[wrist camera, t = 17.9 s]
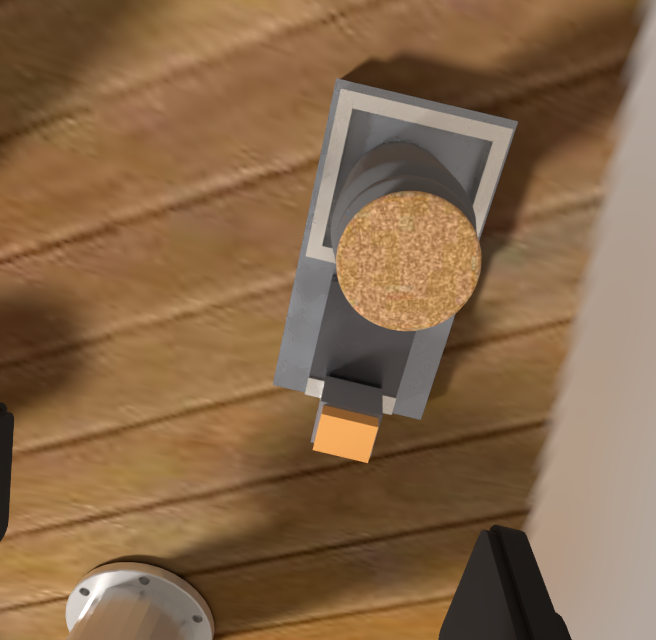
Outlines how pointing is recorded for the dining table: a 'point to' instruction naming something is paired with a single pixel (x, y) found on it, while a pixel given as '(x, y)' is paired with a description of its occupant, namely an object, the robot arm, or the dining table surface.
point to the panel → (319, 260)
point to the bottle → (405, 239)
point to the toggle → (347, 419)
